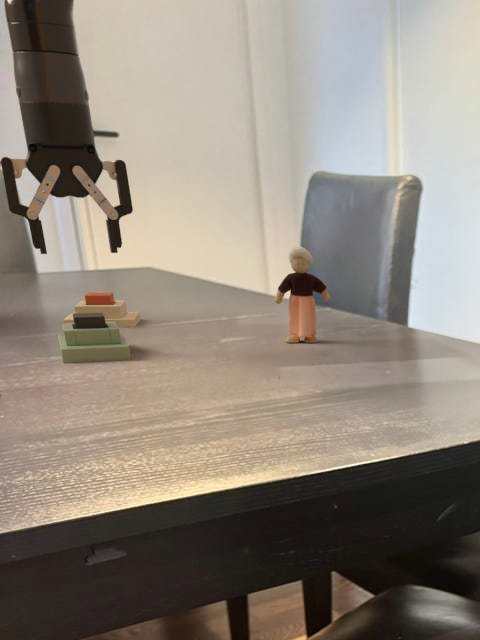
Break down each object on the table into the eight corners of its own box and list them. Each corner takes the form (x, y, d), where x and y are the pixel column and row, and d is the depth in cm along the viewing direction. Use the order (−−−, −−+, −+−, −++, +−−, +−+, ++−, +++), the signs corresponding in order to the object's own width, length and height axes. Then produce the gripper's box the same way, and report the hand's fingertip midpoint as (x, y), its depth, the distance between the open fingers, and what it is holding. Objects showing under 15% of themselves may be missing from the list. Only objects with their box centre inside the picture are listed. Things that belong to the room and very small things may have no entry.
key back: (86, 307, 137) (84, 295, 136) (90, 304, 140) (88, 292, 140) (111, 307, 138) (109, 295, 137) (114, 304, 141) (113, 292, 140)
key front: (74, 327, 118) (72, 313, 117) (104, 326, 119) (102, 312, 119) (76, 332, 115) (74, 317, 114) (106, 330, 116) (104, 316, 116)
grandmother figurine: (282, 344, 128) (275, 247, 122) (276, 340, 131) (269, 244, 125) (335, 342, 131) (331, 246, 125) (328, 338, 134) (323, 244, 128)
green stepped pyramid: (59, 348, 122) (55, 320, 120) (123, 345, 125) (119, 318, 123) (63, 363, 113) (58, 333, 111) (131, 359, 116) (127, 331, 114)
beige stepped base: (64, 328, 136) (60, 306, 135) (73, 320, 143) (70, 299, 141) (134, 327, 138) (131, 306, 136) (140, 319, 145) (137, 299, 143)
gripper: (116, 105, 111) (136, 250, 119) (-14, 99, 106) (16, 251, 113) (122, 102, 105) (143, 255, 113) (-16, 95, 100) (16, 256, 107)
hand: (79, 252), depth 113 cm, fingers open, 7 cm apart
